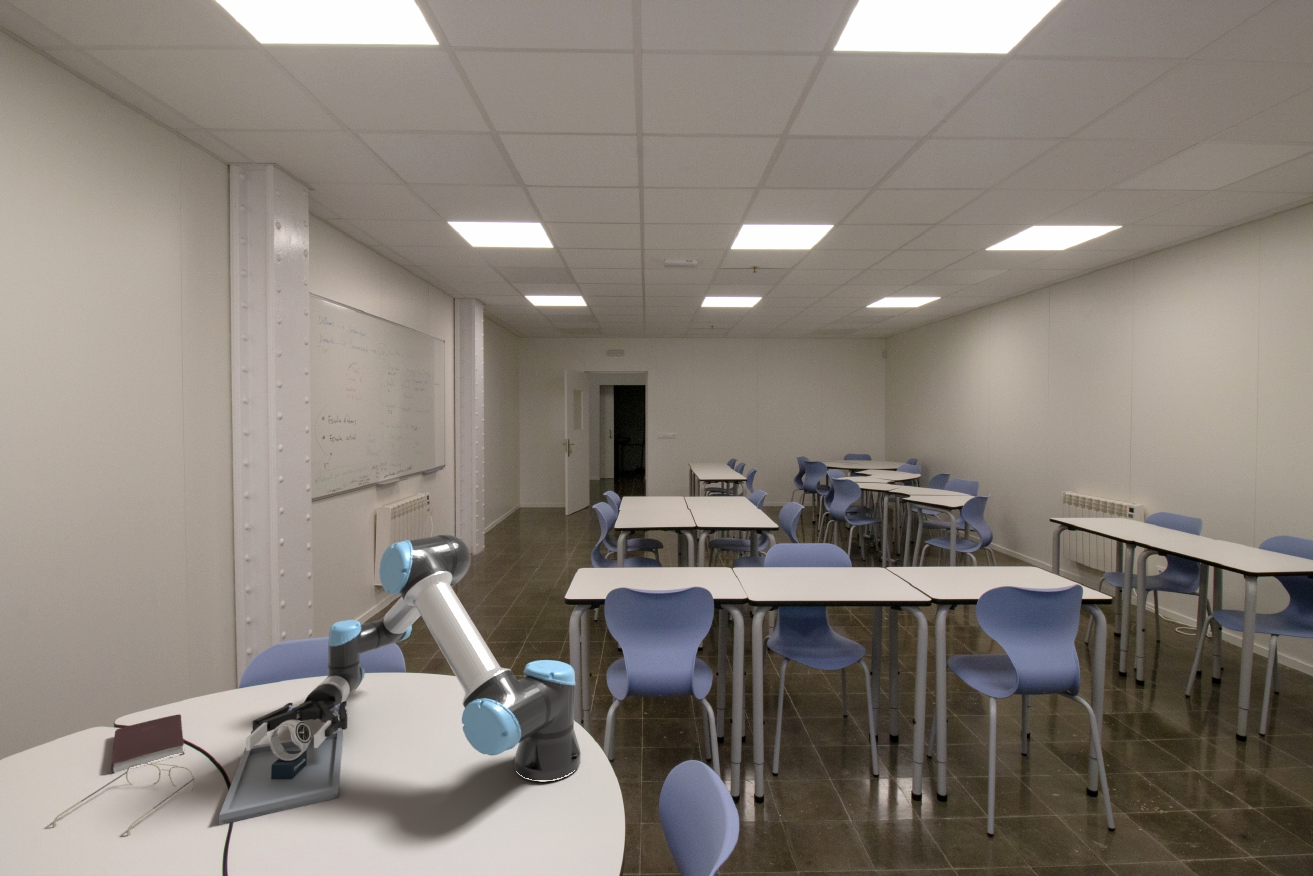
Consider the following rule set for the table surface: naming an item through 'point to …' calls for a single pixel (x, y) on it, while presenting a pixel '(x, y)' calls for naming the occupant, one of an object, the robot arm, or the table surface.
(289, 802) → the tray
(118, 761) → the book
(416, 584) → the robot arm
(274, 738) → the watch
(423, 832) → the table surface
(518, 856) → the table surface
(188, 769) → the eyeglasses
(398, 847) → the table surface
